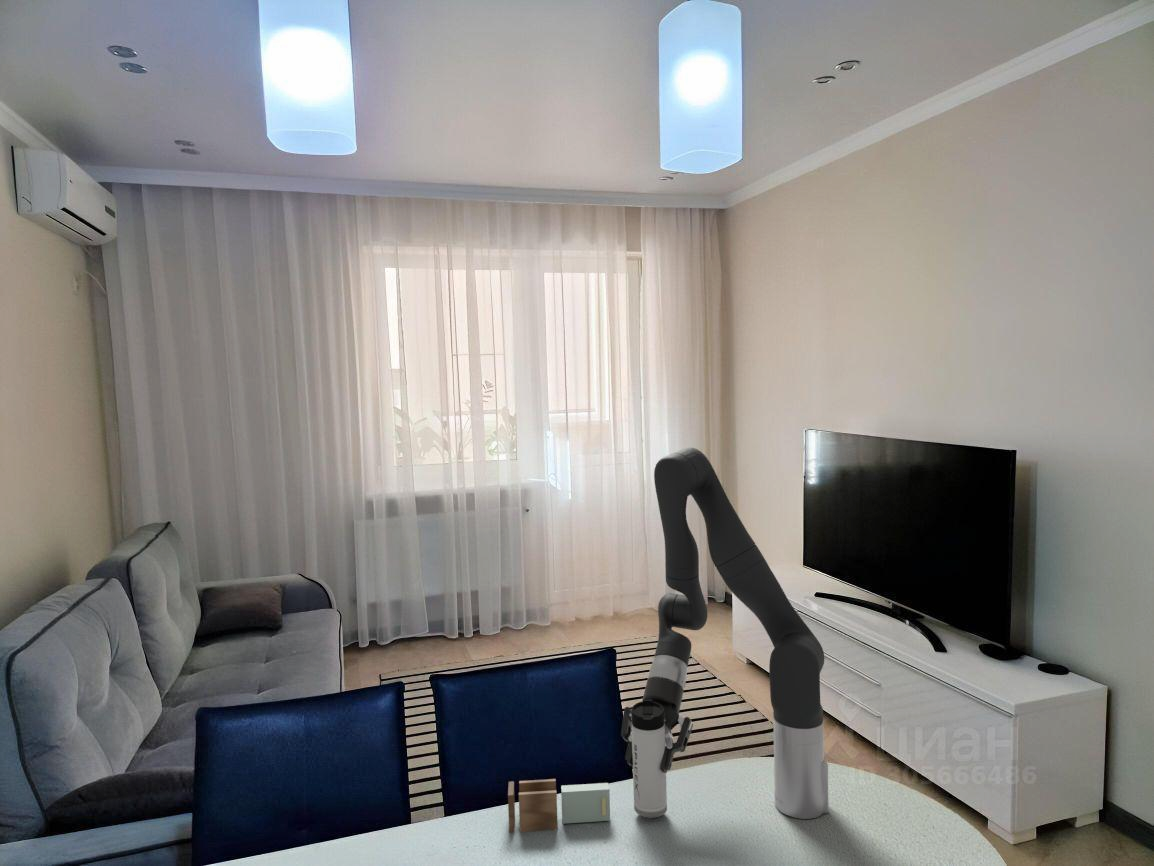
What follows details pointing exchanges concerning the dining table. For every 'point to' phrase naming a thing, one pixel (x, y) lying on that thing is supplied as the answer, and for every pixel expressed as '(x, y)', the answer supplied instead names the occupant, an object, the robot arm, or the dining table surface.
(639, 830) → the dining table surface
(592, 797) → the pale green box
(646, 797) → the travel mug
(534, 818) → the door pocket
